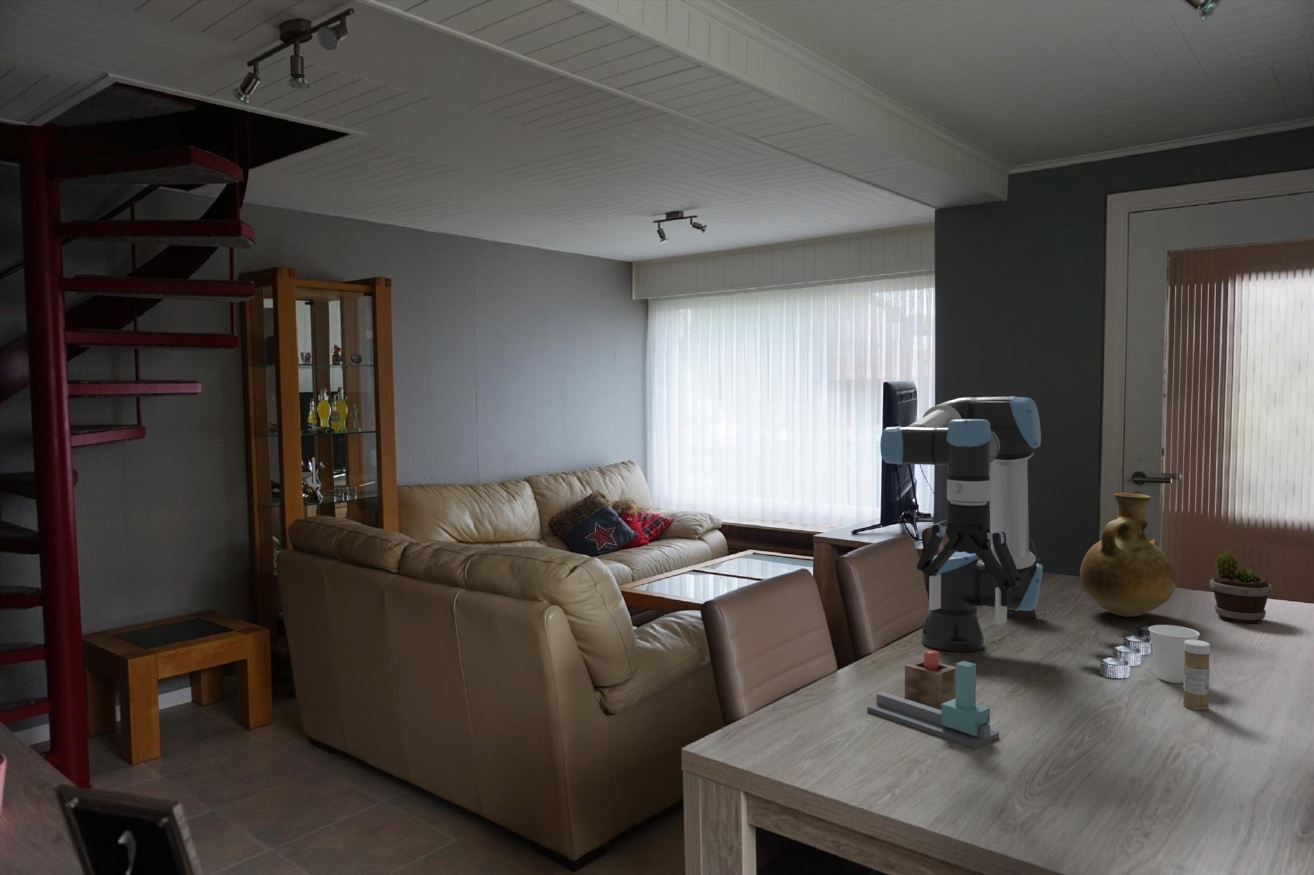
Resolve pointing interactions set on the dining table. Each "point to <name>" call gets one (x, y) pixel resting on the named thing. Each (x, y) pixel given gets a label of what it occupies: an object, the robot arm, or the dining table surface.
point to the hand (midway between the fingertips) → (966, 616)
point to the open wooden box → (930, 683)
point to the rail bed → (927, 720)
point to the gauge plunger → (931, 660)
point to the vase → (1127, 563)
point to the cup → (1170, 650)
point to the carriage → (965, 703)
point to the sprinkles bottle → (1196, 674)
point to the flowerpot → (1239, 591)
